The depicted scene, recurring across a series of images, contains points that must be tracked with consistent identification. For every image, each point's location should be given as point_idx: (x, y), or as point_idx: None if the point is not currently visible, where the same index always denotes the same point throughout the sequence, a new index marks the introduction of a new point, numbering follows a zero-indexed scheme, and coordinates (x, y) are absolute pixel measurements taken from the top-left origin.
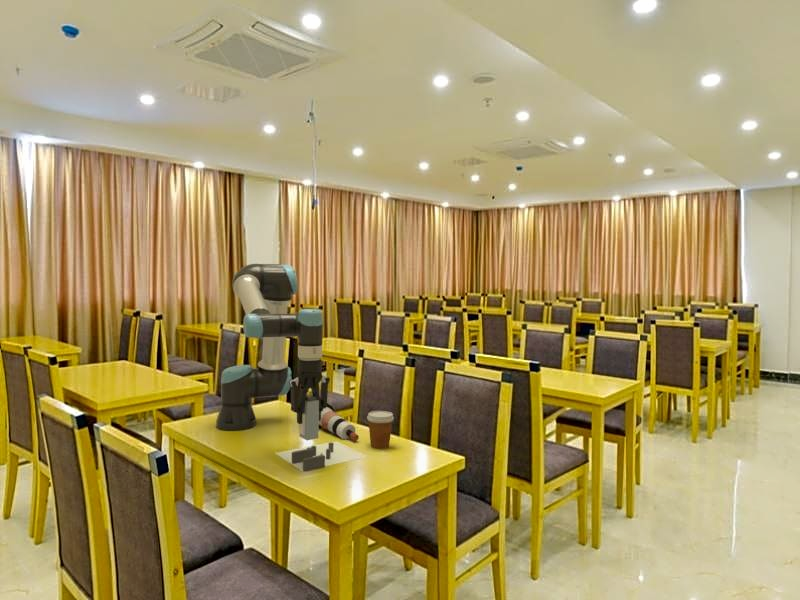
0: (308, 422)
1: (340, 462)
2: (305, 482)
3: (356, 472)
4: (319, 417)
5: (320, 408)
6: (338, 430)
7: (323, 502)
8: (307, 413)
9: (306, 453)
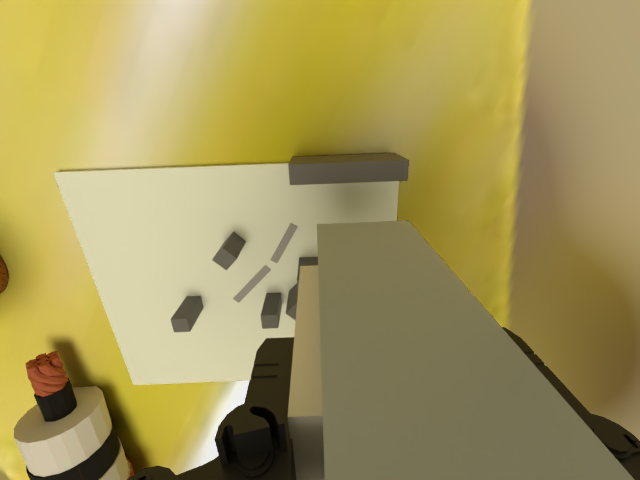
0: (452, 289)
1: (204, 170)
2: (451, 36)
3: (174, 15)
4: (272, 364)
5: (248, 472)
6: (97, 433)
7: None
8: (539, 378)
9: None
